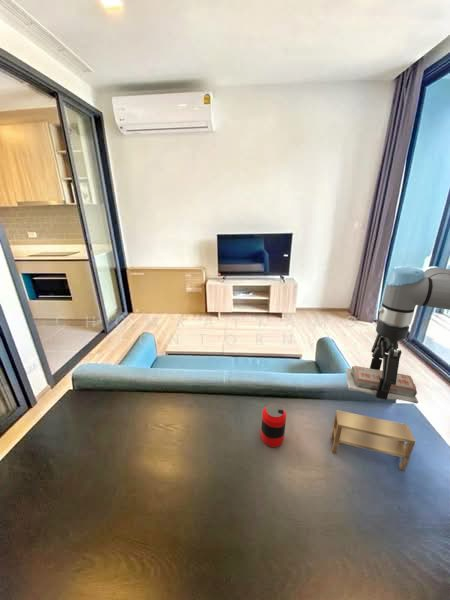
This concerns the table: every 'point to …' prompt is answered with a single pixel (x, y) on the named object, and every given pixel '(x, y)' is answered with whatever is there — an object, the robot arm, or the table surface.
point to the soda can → (273, 425)
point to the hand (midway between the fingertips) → (376, 386)
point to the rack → (373, 435)
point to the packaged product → (369, 383)
